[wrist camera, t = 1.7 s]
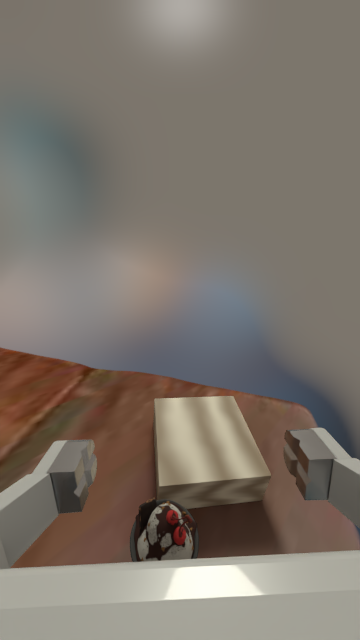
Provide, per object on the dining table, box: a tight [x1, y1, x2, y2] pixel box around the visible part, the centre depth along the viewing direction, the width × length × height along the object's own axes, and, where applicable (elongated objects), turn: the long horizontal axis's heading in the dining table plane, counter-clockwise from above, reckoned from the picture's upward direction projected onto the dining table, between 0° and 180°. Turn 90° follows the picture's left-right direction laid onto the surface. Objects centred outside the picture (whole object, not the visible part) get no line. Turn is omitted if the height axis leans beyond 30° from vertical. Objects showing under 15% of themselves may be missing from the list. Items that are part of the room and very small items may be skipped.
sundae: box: [130, 498, 199, 562], centre depth 23 cm, size 7×7×15 cm
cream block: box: [154, 396, 271, 509], centre depth 40 cm, size 16×16×6 cm
